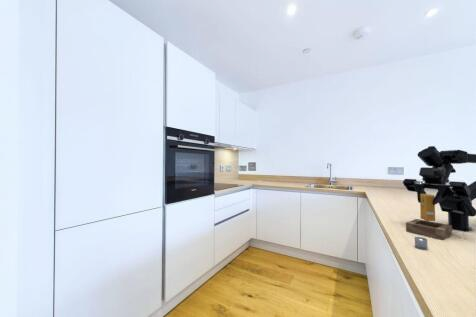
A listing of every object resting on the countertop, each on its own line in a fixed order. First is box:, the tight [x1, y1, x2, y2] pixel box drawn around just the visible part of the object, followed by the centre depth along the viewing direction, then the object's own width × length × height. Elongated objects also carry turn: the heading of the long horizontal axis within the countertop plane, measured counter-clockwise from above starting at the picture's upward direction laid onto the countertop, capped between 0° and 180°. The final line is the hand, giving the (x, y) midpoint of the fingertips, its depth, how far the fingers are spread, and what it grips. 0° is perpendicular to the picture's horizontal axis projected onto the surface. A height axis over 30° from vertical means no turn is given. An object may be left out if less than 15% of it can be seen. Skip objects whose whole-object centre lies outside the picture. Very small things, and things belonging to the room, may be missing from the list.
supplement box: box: [419, 193, 436, 222], centre depth 76 cm, size 3×3×10 cm
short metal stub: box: [414, 236, 429, 251], centre depth 62 cm, size 3×3×3 cm
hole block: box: [405, 218, 453, 241], centre depth 76 cm, size 10×10×4 cm
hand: (425, 203), depth 75 cm, fingers closed on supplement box, 4 cm apart
